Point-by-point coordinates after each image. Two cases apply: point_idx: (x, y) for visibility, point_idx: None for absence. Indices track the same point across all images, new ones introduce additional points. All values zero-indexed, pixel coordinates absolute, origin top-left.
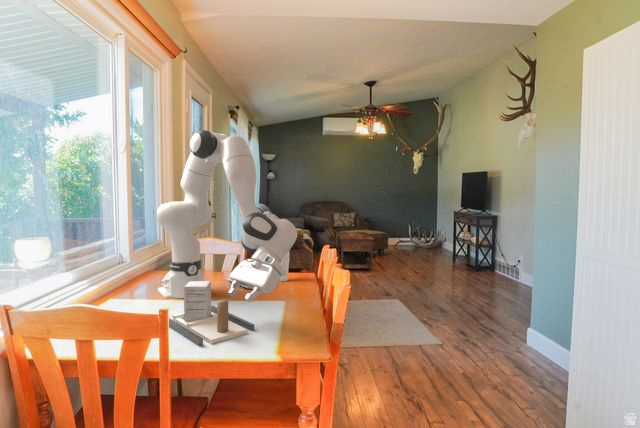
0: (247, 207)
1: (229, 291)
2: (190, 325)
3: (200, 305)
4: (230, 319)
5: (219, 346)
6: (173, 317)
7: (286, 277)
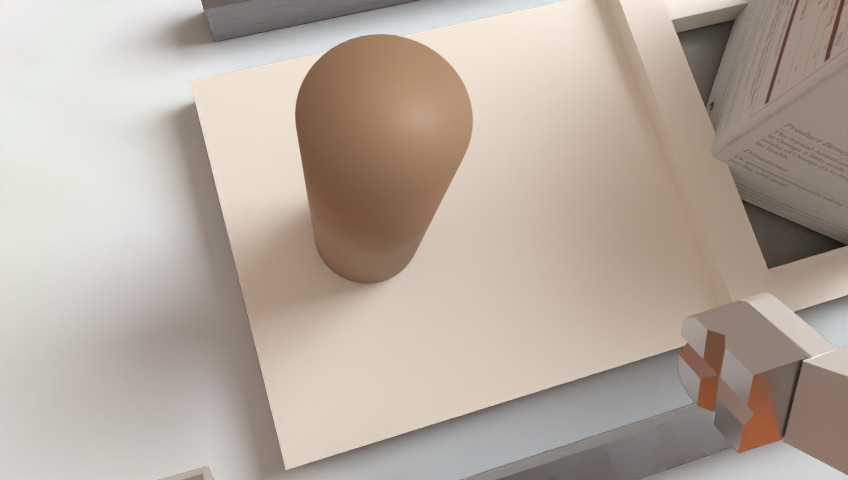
0: None
1: (753, 308)
2: (612, 3)
3: (809, 33)
4: None
5: (129, 152)
6: None
7: None
